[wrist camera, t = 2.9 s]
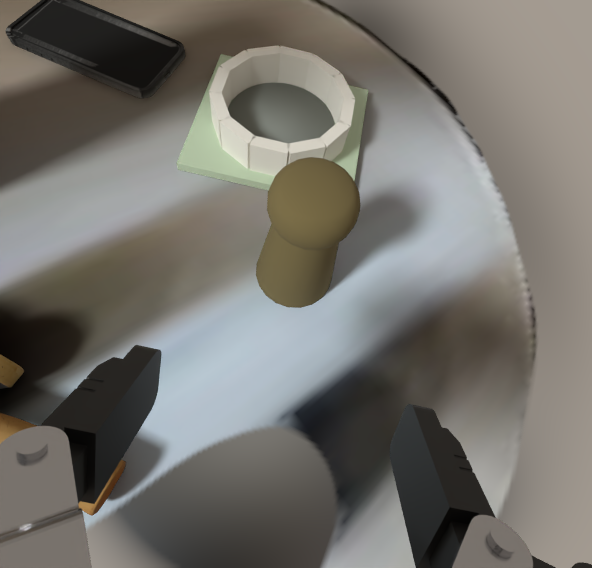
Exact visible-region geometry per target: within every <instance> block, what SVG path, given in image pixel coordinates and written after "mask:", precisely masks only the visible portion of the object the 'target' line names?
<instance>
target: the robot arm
mask: <svg viewBox="0 0 592 568" xmlns="http://www.w3.org/2000/svg"><path fill="white" fill-rule="evenodd" d="M160 363H161V351H160V350H158V349H153V348H148V347H144V346H139V345H135V346H134V347H133V348H132V349H131V350H130V352H129V353H128V354H127V355H126V356H125V357H124V358H123V359H120V358H115V357H113V358H111V359H109V360H107V361H106V362H104V363H102V364H100V365H98V366H97V367H96V368H95V369H94V370H93V371H92V372H91V373H90V374H89V375H88V376H87V379H84V380H83V382H82V383H81V384H80V385H79V386H78V388H77V389H75V390H74V391H73V392H72V393H71V394H70V395H69V396H68V397H67V398H66V399H65V400H64V401H63V403H62V404H61V405H60V406H59V407H58V408H57V409H56V410H55V411H54V412H53V413H52V414H51V415H50V416H49V417H48V418H47V419H46V420H45V421H44V422H43V423H42V425H41V426H36V427H31V428H27V429H24V430H21V431H19V432H17V433H15V434H13V435H11V436H9V437H8V438H6V439H5V440H4V441H3V442H2V443H1V444H0V568H92V567H91V560H90V555H89V548H88V541H87V535H86V529H85V523H84V517H83V512H82V509H81V508H79V505H78V504H79V502H80V501H81V502H86V503H91V504H95V502H96V501H97V499H98V497H99V496H100V494H101V492H102V491H103V489H104V487H105V486H106V484H107V482H108V481H109V479H110V477H111V476H112V474H113V472H114V471H115V469H116V467H117V466H118V464H119V462H120V461H121V459H122V457H123V456H124V454H125V452H126V451H127V449H128V447H129V446H130V444H131V442H132V441H133V439H134V437H135V436H136V434H137V432H138V431H139V429H140V427H141V426H142V424H143V422H144V421H145V419H146V418H147V416H148V414H149V413H150V411H151V409H152V407H153V405H154V402H155V399H156V396H157V392H158V384H159V374H160ZM390 460H391V464H392V469H393V473H394V477H395V481H396V486H397V490H398V494H399V498H400V502H401V507H402V511H403V515H404V519H405V524H406V528H407V532H408V536H409V541H410V545H411V549H412V553H413V558H414V562H415V566H416V568H555V567H553V566H551V565H549V564H547V563H545V562H543V561H541V560H539V559H537V558H535V557H534V556H532V555H531V553H530V551H529V549H528V547H527V545H526V544H525V542H524V541H523V540H522V539H521V537H520V536H519V535H518V534H517V533H516V532H515V531H514V530H513V529H512V528H511V527H509V526H508V525H507V524H505V523H503V522H502V521H501V520H499V519H497V518H495V516H494V513H493V511H492V509H491V507H490V505H489V503H488V501H487V499H486V497H485V495H484V492H483V490H482V488H481V486H480V484H479V482H478V480H477V478H476V476H475V474H474V473H473V472H472V470H473V469H472V467H471V465H470V463H469V461H468V460H467V457H466V455H465V453H464V451H463V448H462V446H461V444H460V442H459V441H458V440H457V439H456V438H455V437H454V436H453V434H452V433H451V432H450V431H449V430H448V429H446V428H442V427H441V425H440V422H439V420H438V418H437V416H436V413H435V411H434V410H433V409H430V408H425V407H421V406H416V405H411V404H408V405H407V406H406V408H405V410H404V412H403V414H402V417H401V419H400V422H399V424H398V426H397V429H396V431H395V434H394V436H393V438H392V441H391V446H390ZM572 568H592V565H591V564H588V563H577V564H575V565H574V566H573V567H572Z"/></svg>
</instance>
